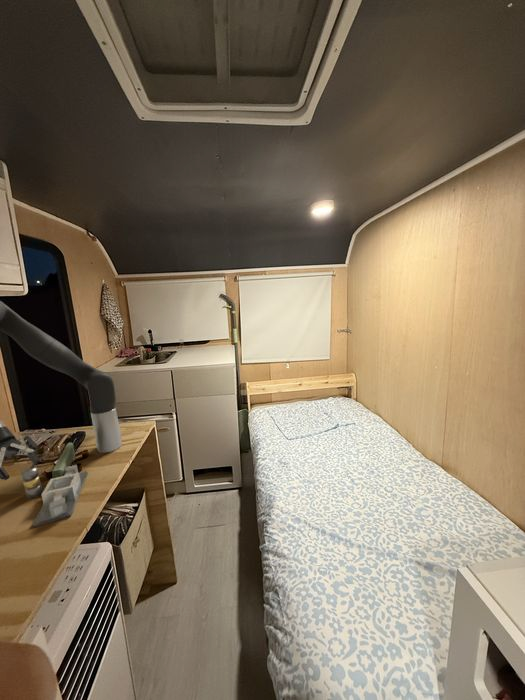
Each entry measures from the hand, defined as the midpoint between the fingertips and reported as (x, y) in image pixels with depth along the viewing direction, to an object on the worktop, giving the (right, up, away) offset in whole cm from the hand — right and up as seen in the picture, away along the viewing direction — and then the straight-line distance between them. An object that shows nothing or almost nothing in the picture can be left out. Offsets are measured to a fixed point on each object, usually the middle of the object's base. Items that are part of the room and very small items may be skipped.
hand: (23, 470), depth 91 cm
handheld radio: (+4, -6, +15) cm, 17 cm away
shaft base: (+14, -8, -1) cm, 17 cm away
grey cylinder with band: (+3, -8, 0) cm, 9 cm away
